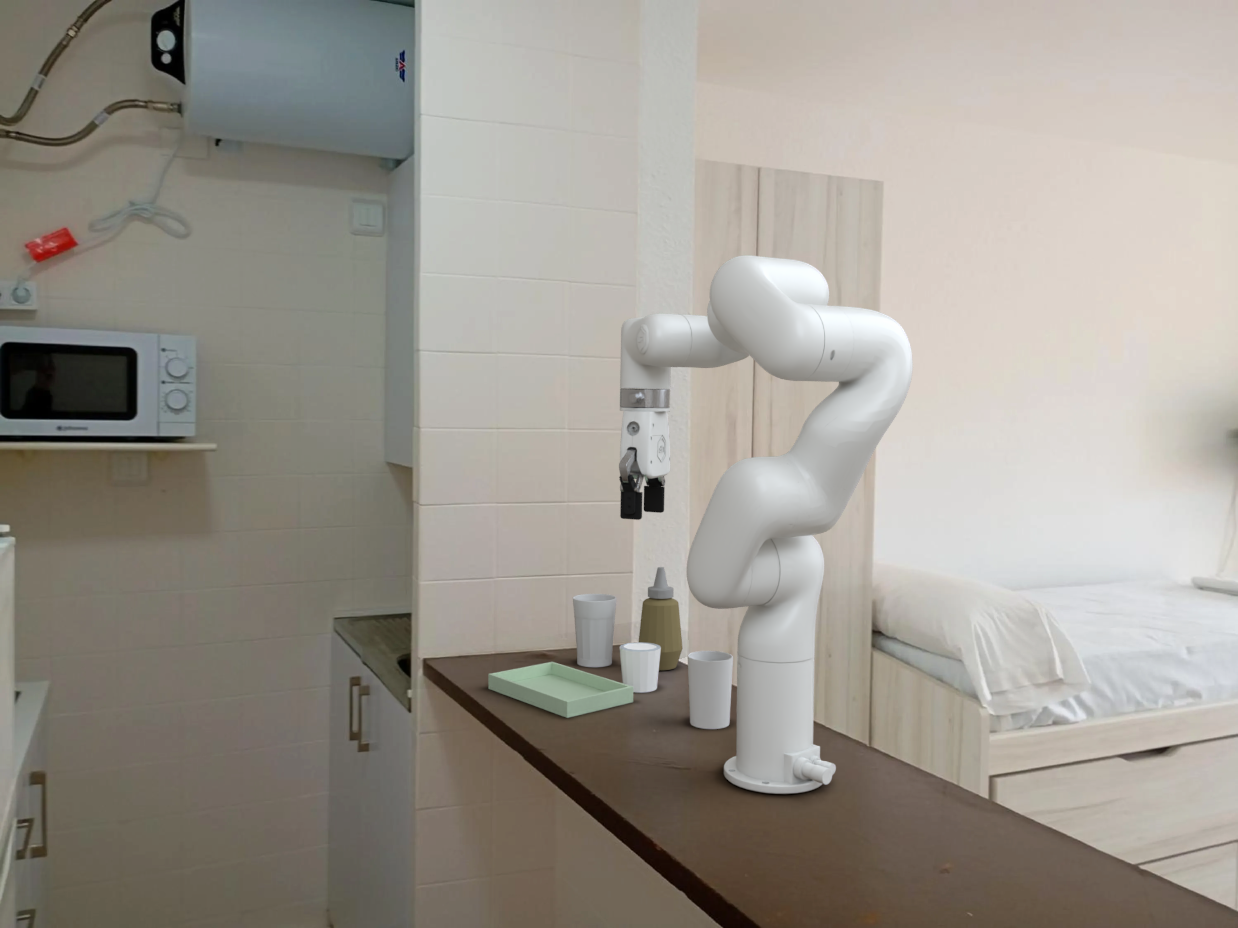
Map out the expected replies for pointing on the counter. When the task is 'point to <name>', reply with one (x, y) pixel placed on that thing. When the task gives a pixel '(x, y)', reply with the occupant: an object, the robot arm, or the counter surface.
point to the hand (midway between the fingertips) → (642, 515)
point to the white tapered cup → (640, 665)
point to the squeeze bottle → (662, 621)
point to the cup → (594, 628)
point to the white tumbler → (710, 688)
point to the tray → (560, 689)
